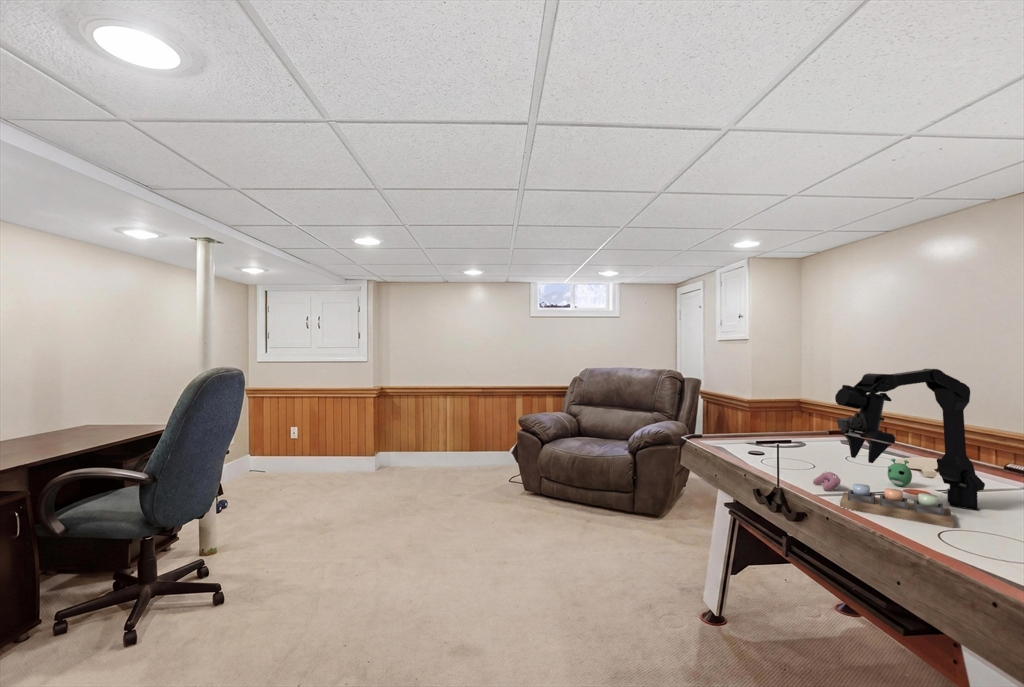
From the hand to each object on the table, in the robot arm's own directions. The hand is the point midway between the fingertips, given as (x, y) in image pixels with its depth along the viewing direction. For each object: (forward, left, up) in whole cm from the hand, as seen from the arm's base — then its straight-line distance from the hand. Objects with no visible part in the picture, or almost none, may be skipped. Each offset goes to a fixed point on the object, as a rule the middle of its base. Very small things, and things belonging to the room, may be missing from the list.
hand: (861, 460), depth 150 cm
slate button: (0, 0, -11) cm, 11 cm away
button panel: (-8, 0, -15) cm, 17 cm away
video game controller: (+11, -18, -15) cm, 26 cm away
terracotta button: (-8, 0, -11) cm, 14 cm away
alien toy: (-9, -39, -15) cm, 43 cm away
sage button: (-16, 0, -11) cm, 19 cm away
